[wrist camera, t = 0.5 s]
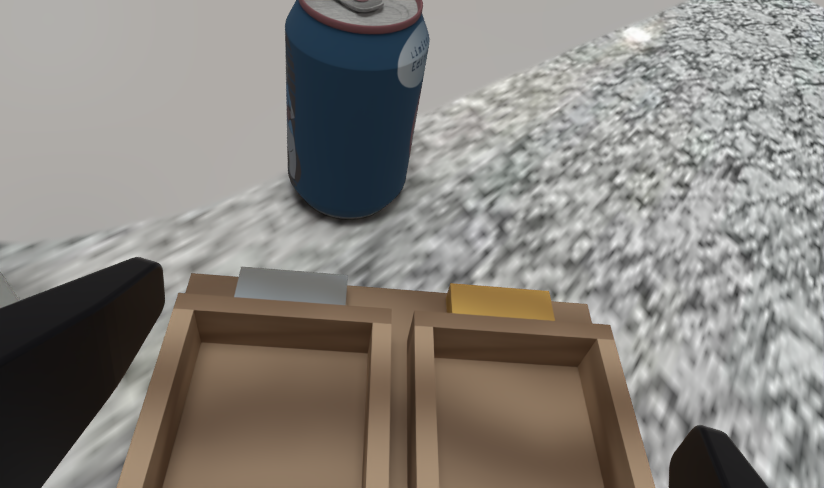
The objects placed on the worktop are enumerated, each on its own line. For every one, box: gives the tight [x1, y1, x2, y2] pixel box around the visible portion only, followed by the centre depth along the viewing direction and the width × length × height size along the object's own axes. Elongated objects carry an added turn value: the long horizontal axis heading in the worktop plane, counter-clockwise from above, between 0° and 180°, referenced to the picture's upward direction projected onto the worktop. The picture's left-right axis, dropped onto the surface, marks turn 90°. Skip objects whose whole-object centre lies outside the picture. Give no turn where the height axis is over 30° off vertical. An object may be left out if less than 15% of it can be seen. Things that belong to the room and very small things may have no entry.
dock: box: [117, 267, 655, 488], centre depth 24 cm, size 15×20×4 cm
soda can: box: [285, 0, 429, 219], centre depth 31 cm, size 7×7×12 cm
